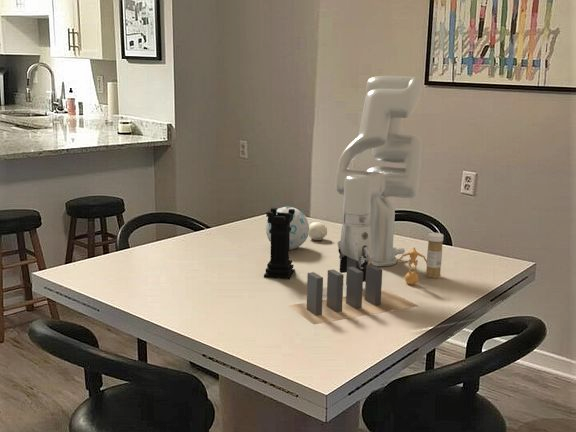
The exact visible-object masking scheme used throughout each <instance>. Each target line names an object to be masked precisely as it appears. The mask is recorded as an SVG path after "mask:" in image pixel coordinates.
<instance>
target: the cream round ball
mask: <svg viewBox="0 0 576 432" xmlns="http://www.w3.org/2000/svg"><path fill="white" fill-rule="evenodd" d="M326 236H328V228H327V226H326V225H325V224H324V223H323V222H320V221H313V222H311V223H310V224H309V233H308V237H309V238H310V239H312V240H314V241H321V240H323V239H324V238H325V237H326Z"/></svg>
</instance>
